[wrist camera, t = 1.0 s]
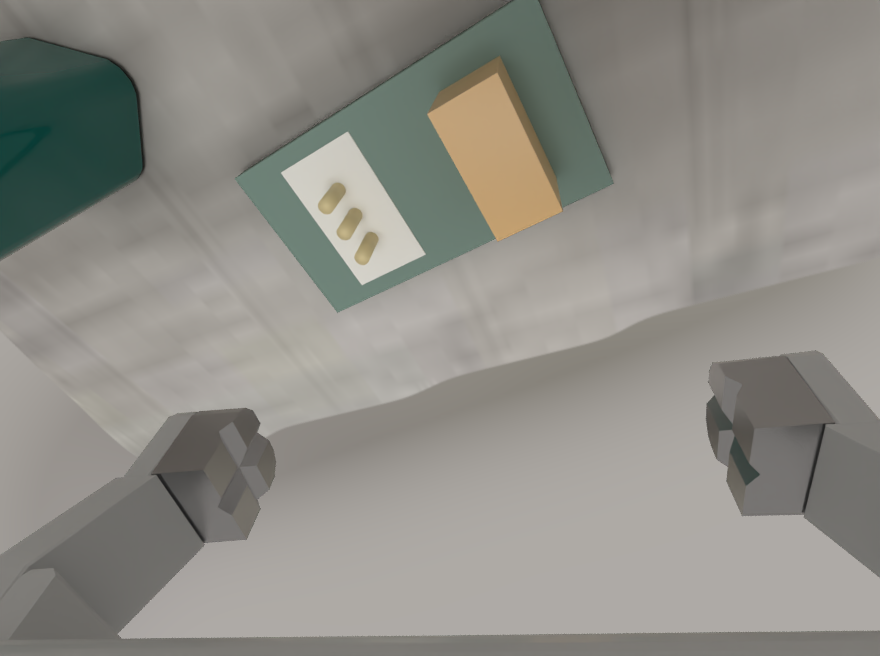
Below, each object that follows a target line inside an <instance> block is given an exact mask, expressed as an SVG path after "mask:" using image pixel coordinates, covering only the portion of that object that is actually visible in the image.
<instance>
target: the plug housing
mask: <svg viewBox="0 0 880 656" xmlns="http://www.w3.org/2000/svg"><path fill="white" fill-rule="evenodd" d="M427 115H428V117H429V119H430V120H431V122H432V124H433V126H434V128H435V129H436V131H437V133H438V135H439V137H440V138H441V140H442V142H443V144H444V146H445V147H446V149H447V151H448V153H449V155H450V156H451V158H452V160H453V162H454V164H455V166H456V167H457V169H458V171H459V173H460V175H461V176H462V178H463V180H464V182H465V184H466V185H467V187H468V189H469V191H470V193H471V194H472V196H473V198H474V200H475V202H476V203H477V205H478V207H479V209H480V211H481V213H482V214H483V216H484V218H485V220H486V222H487V223H488V225H489V227H490V229H491V231H492V232H493V234H494V236H495V238H496V240H497V241H500V240H502V239H504V238H506V237H509V236H511V235H513V234H515V233H517V232H519V231H522V230H524V229H526V228H528V227H530V226H532V225H534V224H537V223H539V222H541V221H543V220H545V219H547V218H550V217H552V216H554V215H556V214H558V213H560V212H562V211H563V209H562V204H561V199H560V194H559V189H558V184H557V178H556V176H555V174H554V172H553V169H552V167H551V165H550V163H549V161H548V159H547V157H546V154H545V152H544V150H543V148H542V146H541V144H540V142H539V139H538V137H537V135H536V133H535V131H534V129H533V126H532V124H531V122H530V120H529V118H528V116H527V114H526V111H525V109H524V107H523V105H522V103H521V101H520V98H519V96H518V94H517V92H516V90H515V88H514V86H513V83H512V81H511V79H510V77H509V75H508V73H507V70H506V68H505V66H504V64H503V62H502V60H501V58H500V56H498V57H497V58H495V59H493V60H492V61H490V62H488V63H487V64H485V65H483V66H482V67H480V68H478V69H477V70H475V71H473V72H472V73H470V74H468V75H467V76H465V77H463V78H462V79H460V80H458V81H457V82H455V83H453V84H452V85H450V86H448V87H447V88H445V89H443V90H442V91H440V92H439V93H438V95H437V97H436V99H435V100H434V102H433V104H432V106H431V108H430V110H429V111H428V113H427Z"/></svg>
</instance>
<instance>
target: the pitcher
mask: <svg viewBox="0 0 880 656" xmlns="http://www.w3.org/2000/svg"><path fill="white" fill-rule="evenodd" d="M142 168H143V162H142V150H141V139H140V128H139V116H138V105H137V94H136V91H135V89H134V87H133V84H132V82H131V80H130V79H129V78H128V77H127V75H126V74H125V73H124V72H123V71H122V69H121V68H119V67H118V66H117V65H115V64H114V63H112V62H111V61H109V60H107V59H104V58H101V57H97V56H93V55H90V54H86V53H82V52H79V51H75V50H71V49H68V48H64V47H60V46H57V45H53V44H49V43H46V42H42V41H38V40H35V39H31V38H28V37H26V38H20V39H14V40H8V41H2V42H0V261H1V260H3V259H5V258H6V257H8V256H10V255H12V254H13V253H15V252H17V251H18V250H20V249H22V248H23V247H25V246H27V245H28V244H30V243H32V242H33V241H35V240H37V239H38V238H40V237H42V236H44V235H45V234H47V233H49V232H50V231H52V230H54V229H55V228H57V227H59V226H60V225H62V224H64V223H65V222H67V221H69V220H71V219H72V218H74V217H76V216H77V215H79V214H81V213H82V212H84V211H86V210H87V209H89V208H91V207H92V206H94V205H96V204H97V203H99V202H101V201H103V200H104V199H106V198H108V197H109V196H111V195H113V194H114V193H116V192H118V191H119V190H121V189H123V188H124V187H126V186H128V185H130V184H131V183H132V182H134V181H135V180H136V179H138V178H139V176H140V174H141V171H142Z"/></svg>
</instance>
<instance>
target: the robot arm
mask: <svg viewBox="0 0 880 656" xmlns="http://www.w3.org/2000/svg"><path fill="white" fill-rule="evenodd" d="M708 383H709V385H710V386H711V389H712V391H713V393H714V396H713V397H712V398H711V400H710V401H709V402H708V403H707V407H706V408H707V409H706V423H707V430H708V437H709V440H710V443H711V446H712V449H713V452H714V454H715V456H716V459H717V460H718V461H720V462H721V463H723V464H724V465H726V466H727V467H728V471H727V483H728V486H729V488H730V490H731V492H732V495H733V497H734V499H735V501H736V503H737V506H738V508H739V510H740V512H741V515H742V516H757V515H758V516H760V515H804V518H805V519H807V520H808V521H809V522H810V523H812V524H813V525H814V526H816V527H817V528H818V529H819V530H820V531H822V532H823V533H824V534H825V535H827V536H828V537H829V538H830V539H832V540H833V541H834V542H836V543H837V544H838V545H839V546H841V547H842V548H843V549H844V550H846V551H847V552H848V553H849V554H851V555H852V556H853V557H854V558H856V559H857V560H858V561H860V562H861V563H862V564H863V565H865V566H866V567H867V568H869V569H870V570H871V571H872V572H873V573H875V574H876V575H877V576H878V577H880V419H879V418H878V417H877V416H876V415H875V414H874V412H873V411H872V410H871V409H870V408H869V407H868V405H867V404H866V403H865V402H864V401H863V400H862V398H861V397H860V396H859V395H858V394H857V393H856V391H855V390H854V389H853V388H852V387H851V386H850V384H849V383H848V382H847V381H846V380H845V379H844V378H843V376H842V375H841V374H840V373H839V372H838V371H837V369H836V368H835V367H834V366H833V365H832V364H831V362H830V361H829V360H828V359H827V358H826V357H825V356H824V354H823V353H820V352H818V351H816V350H815V351H808V352H799V353H790V354H782V355H780V356H772V357H762V358H752V359H743V360H733V361H724V362H713V363H712V365H711V367H710V370H709V381H708ZM259 426H260V422H259V420H258V418H257V417H256V415H255V413H254V411H253V410H250V409H247V408H238V409H224V410H210V411H199V412H188V413H177V414H175V415H173V416H170V417H168V419H167V420H166V421H165V423H164V424H163V425H162V427H161V428H160V429H159V431H158V432H157V433H156V435H155V436H154V437H153V439H152V440H151V441H150V443H149V444H148V445H147V447H146V448H145V449H144V450H143V452H142V453H141V454H140V456H139V457H138V458H137V460H136V461H135V462H134V464H133V465H132V466H131V468H130V469H129V470H128V472H127V473H126V474H125V476H124V477H122V478H115V479H114V480H112V481H111V482H109V483H108V484H106V485H104V486H103V487H102V488H100V489H99V490H97V491H96V492H94V493H93V494H91V495H90V496H88V497H86V498H85V499H84V500H82V501H80V502H79V503H78V504H76V505H75V506H73V507H72V508H70V509H69V510H67V511H66V512H64V513H62V514H61V515H59V516H58V517H57V518H55V519H53V520H52V521H51V522H49V523H47V524H46V525H44V526H43V527H41V528H40V529H38V530H37V531H35V532H34V533H32V534H31V535H29V536H28V537H26V538H25V539H23V540H22V541H20V542H19V543H18V544H16V545H14V546H13V547H11V548H10V549H8V550H7V551H5V552H4V553H2V554H1V555H0V656H880V631H811V632H810V631H807V632H719V633H718V632H716V633H715V632H714V633H713V632H712V633H711V632H710V633H631V634H629V633H626V634H625V633H623V634H544V635H543V634H539V635H458V636H457V635H456V636H455V635H453V636H355V637H354V636H353V637H348V636H347V637H249V638H248V637H247V638H151V639H121V637H119V635H118V633H119V632H120V631H121V630H122V629H123V628H124V627H125V626H126V625H127V624H128V623H129V622H130V621H131V620H132V618H134V616H135V615H137V614H138V613H139V612H140V611H141V610H142V608H143V607H144V606H145V605H146V604H147V603H148V602H149V601H150V600H151V599H152V598H153V597H154V596H155V595H156V594H157V593H158V592H159V591H160V590H161V589H162V588H163V587H164V586H165V585H166V584H167V583H168V582H169V581H170V580H171V579H172V578H173V577H174V576H175V575H176V574H177V573H178V572H179V571H180V570H181V569H182V568H183V567H184V566H185V565H186V564H187V563H188V562H189V560H191V559H192V558H193V557H194V555H196V553H197V552H198V551H199V550H200V549H201V548H202V547H203V546H204V543H208V542H222V541H234V540H246V539H247V538H248V535H249V533H250V531H251V529H252V527H253V524H254V522H255V520H256V518H257V516H258V513H259V511H260V506H259V503H258V500H257V499H259V498H260V497H261V496H262V495H263V494H264V493H265V492H267V491H268V490H269V489H270V486H271V484H272V481H273V479H274V477H275V467H276V459H275V454H274V450H273V448H272V446H271V444H270V441H269V440H268V439H266V438H265V437H263V436H262V435H260V434H259V433H257V432H258V429H259Z"/></svg>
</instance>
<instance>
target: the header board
mask: <svg viewBox="0 0 880 656" xmlns="http://www.w3.org/2000/svg"><path fill="white" fill-rule="evenodd" d="M498 56H500V58H501V60H502V62H503V64H504V66H505V68H506V70H507V73H508V75H509V77H510V79H511V81H512V83H513V86H514V88H515V90H516V92H517V94H518V96H519V98H520V101H521V103H522V105H523V107H524V109H525V111H526V114H527V116H528V118H529V120H530V122H531V124H532V126H533V129H534V131H535V133H536V135H537V137H538V139H539V142H540V144H541V146H542V148H543V150H544V152H545V154H546V157H547V159H548V161H549V163H550V165H551V167H552V169H553V172H554V174H555V176H556V178H557V184H558V189H559V194H560V199H561V204H562V208H563V207H565V206H567V205H569V204H571V203H573V202H575V201H578V200H580V199H582V198H584V197H586V196H588V195H590V194H592V193H595V192H597V191H599V190H601V189H603V188H605V187H607V186H610V185H612V184H614V183H613V180H612V178H611V175H610V173H609V171H608V168H607V166H606V163H605V161H604V158H603V156H602V154H601V151H600V149H599V146H598V144H597V141H596V139H595V137H594V134H593V132H592V129H591V127H590V124H589V122H588V120H587V117H586V115H585V112H584V110H583V108H582V105H581V103H580V100H579V98H578V95H577V93H576V91H575V88H574V86H573V83H572V81H571V78H570V76H569V74H568V71H567V69H566V66H565V64H564V61H563V59H562V57H561V54H560V52H559V49H558V47H557V44H556V42H555V40H554V37H553V35H552V32H551V30H550V27H549V25H548V23H547V20H546V18H545V15H544V13H543V11H542V8H541V6H540V3H539V1H538V0H512V1H510V2H509V3H507V4H506V5H504V6H503V7H501V8H499V9H498V10H496V11H495V12H493V13H492V14H490V15H488V16H487V17H485V18H484V19H482V20H481V21H479V22H477V23H476V24H474V25H473V26H471V27H470V28H468V29H467V30H465V31H463V32H462V33H460V34H459V35H457V36H456V37H454V38H452V39H451V40H449V41H448V42H446V43H445V44H443V45H441V46H440V47H438V48H437V49H435V50H434V51H432V52H430V53H429V54H427V55H426V56H424V57H423V58H421V59H419V60H418V61H416V62H415V63H413V64H412V65H410V66H408V67H407V68H405V69H404V70H402V71H401V72H399V73H398V74H396V75H394V76H393V77H391V78H390V79H388V80H387V81H385V82H383V83H382V84H380V85H379V86H377V87H376V88H374V89H372V90H371V91H369V92H368V93H366V94H365V95H363V96H361V97H360V98H358V99H357V100H355V101H354V102H352V103H350V104H349V105H347V106H346V107H344V108H343V109H341V110H340V111H338V112H336V113H335V114H333V115H332V116H330V117H329V118H327V119H325V120H324V121H322V122H321V123H319V124H318V125H316V126H314V127H313V128H311V129H310V130H308V131H307V132H305V133H303V134H302V135H300V136H299V137H297V138H296V139H294V140H292V141H291V142H289V143H288V144H286V145H285V146H283V147H281V148H280V149H278V150H277V151H275V152H274V153H272V154H271V155H269V156H267V157H266V158H264V159H263V160H261V161H260V162H258V163H256V164H255V165H253V166H252V167H250V168H249V169H247V170H245V171H244V172H243V173H241V174H240V175H239V176H238V177H236V178H235V180H236V181H237V182H238V184H239V185H240V186H241V188H242V189H243V190H244V192H245V193H246V194H247V195H248V197H249V198H250V199H251V201H252V202H253V203H254V205H255V206H256V207H257V208H258V210H259V211H260V212H261V214H262V215H263V216H264V218H265V219H266V220H267V221H268V223H269V224H270V225H271V227H272V228H273V229H274V231H275V232H276V233H277V234H278V236H279V237H280V238H281V240H282V241H283V242H284V244H285V245H286V246H287V247H288V249H289V250H290V251H291V253H292V254H293V255H294V257H295V258H296V259H297V260H298V262H299V263H300V264H301V266H302V267H303V268H304V270H305V271H306V272H307V274H308V275H309V276H310V277H311V279H312V280H313V281H314V283H315V284H316V285H317V287H318V288H319V289H320V290H321V292H322V293H323V294H324V296H325V297H326V298H327V300H328V301H329V302H330V303H331V305H332V306H333V307H334V309H335V310H336V311H337V313H338V312H340V311H342V310H344V309H346V308H349V307H351V306H353V305H355V304H357V303H359V302H361V301H364V300H366V299H368V298H370V297H372V296H374V295H376V294H379V293H381V292H383V291H385V290H387V289H389V288H391V287H393V286H396V285H398V284H400V283H402V282H404V281H406V280H408V279H411V278H413V277H415V276H417V275H419V274H421V273H423V272H426V271H428V270H430V269H432V268H434V267H436V266H438V265H441V264H443V263H445V262H447V261H449V260H451V259H453V258H456V257H458V256H460V255H462V254H464V253H466V252H468V251H471V250H473V249H475V248H477V247H479V246H481V245H483V244H486V243H488V242H490V241H492V240H494V239H496V238H495V236H494V234H493V232H492V231H491V229H490V227H489V225H488V223H487V222H486V220H485V218H484V216H483V214H482V213H481V211H480V209H479V207H478V205H477V203H476V202H475V200H474V198H473V196H472V194H471V193H470V191H469V189H468V187H467V185H466V184H465V182H464V180H463V178H462V176H461V175H460V173H459V171H458V169H457V167H456V166H455V164H454V162H453V160H452V158H451V156H450V155H449V153H448V151H447V149H446V147H445V146H444V144H443V142H442V140H441V138H440V137H439V135H438V133H437V131H436V129H435V128H434V126H433V124H432V122H431V120H430V119H429V117H428V115H427V113H428V111H429V110H430V108H431V106H432V104H433V102H434V100H435V99H436V97H437V95H438V93H439V92H440V91H442V90H443V89H445V88H447V87H448V86H450V85H452V84H453V83H455V82H457V81H458V80H460V79H462V78H463V77H465V76H467V75H468V74H470V73H472V72H473V71H475V70H477V69H478V68H480V67H482V66H483V65H485V64H487V63H488V62H490V61H492V60H493V59H495V58H497V57H498Z"/></svg>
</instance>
